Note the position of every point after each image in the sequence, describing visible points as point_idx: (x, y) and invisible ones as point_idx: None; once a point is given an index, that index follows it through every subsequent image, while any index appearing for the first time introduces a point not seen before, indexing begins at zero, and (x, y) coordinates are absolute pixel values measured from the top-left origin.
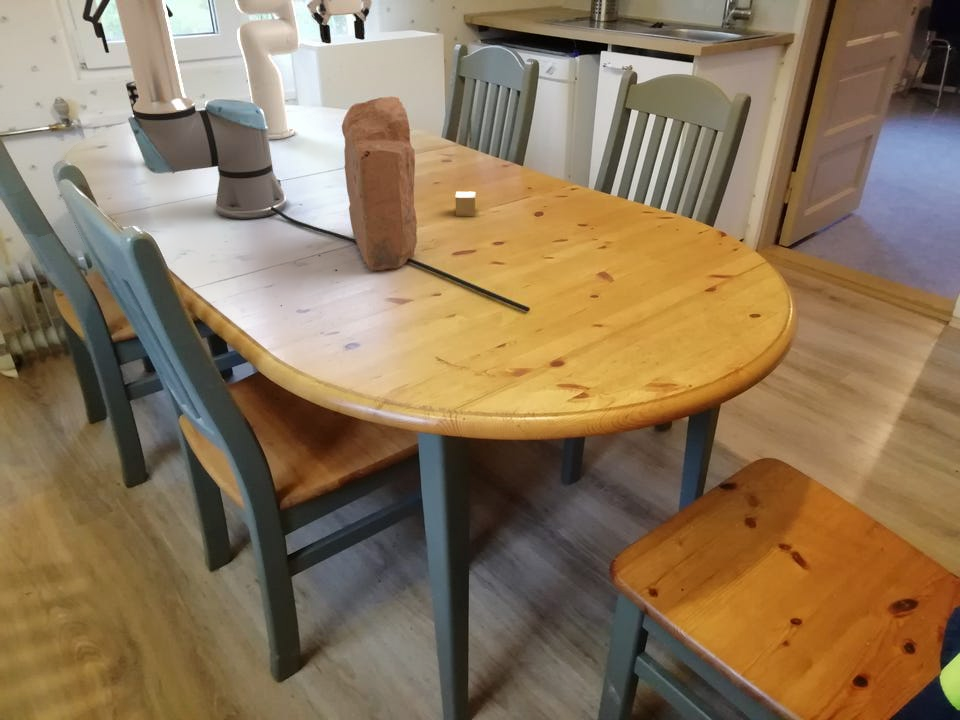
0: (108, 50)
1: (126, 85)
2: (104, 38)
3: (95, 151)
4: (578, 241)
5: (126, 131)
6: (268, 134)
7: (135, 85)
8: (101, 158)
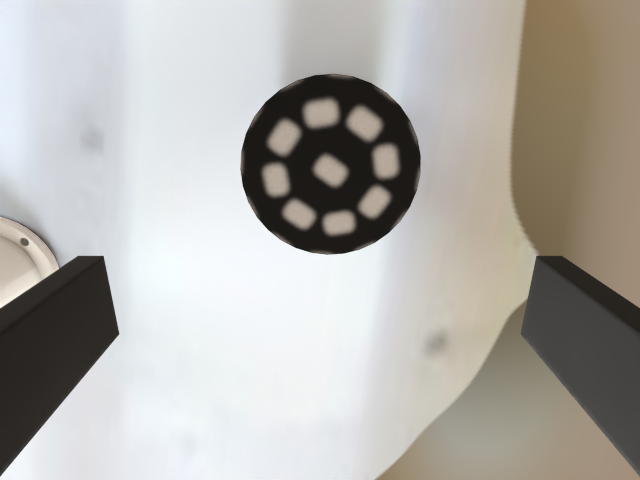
0: (548, 262)
1: (420, 156)
2: (622, 313)
3: (459, 314)
4: None
5: (360, 446)
6: (5, 238)
7: (378, 131)
8: (460, 246)
